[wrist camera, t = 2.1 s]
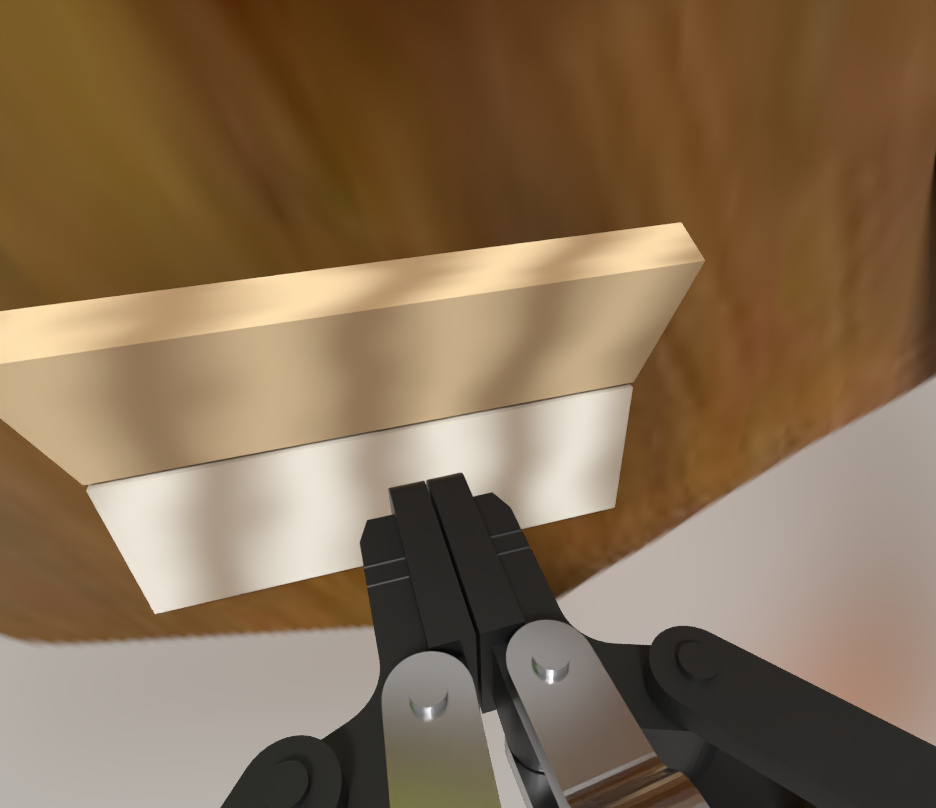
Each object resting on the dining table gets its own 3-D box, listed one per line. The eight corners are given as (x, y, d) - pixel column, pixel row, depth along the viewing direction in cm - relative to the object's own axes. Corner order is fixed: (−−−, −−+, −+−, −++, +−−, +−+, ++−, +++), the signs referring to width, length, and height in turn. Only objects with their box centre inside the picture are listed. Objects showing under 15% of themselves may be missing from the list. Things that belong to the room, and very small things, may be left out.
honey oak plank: (681, 222, 22) (705, 261, 21) (617, 348, 29) (633, 382, 28) (-45, 317, 17) (-57, 372, 16) (86, 441, 24) (83, 485, 23)
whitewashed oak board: (613, 366, 30) (632, 387, 28) (598, 483, 34) (614, 507, 32) (98, 459, 25) (86, 490, 23) (161, 581, 29) (155, 614, 28)
